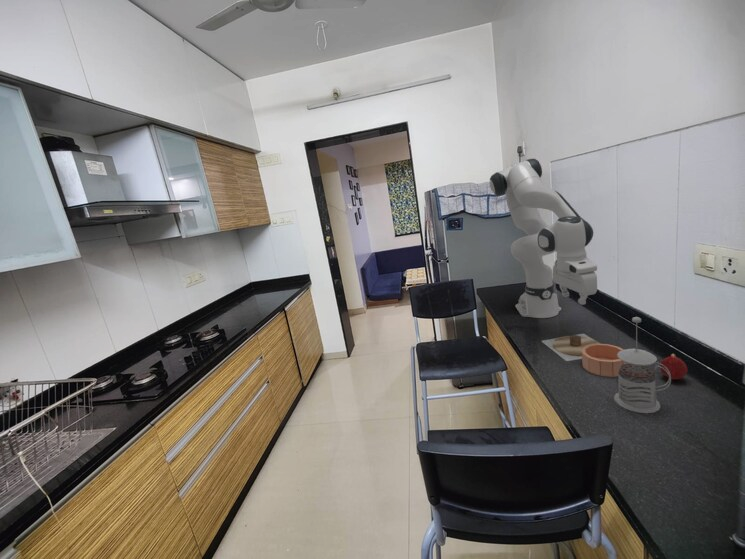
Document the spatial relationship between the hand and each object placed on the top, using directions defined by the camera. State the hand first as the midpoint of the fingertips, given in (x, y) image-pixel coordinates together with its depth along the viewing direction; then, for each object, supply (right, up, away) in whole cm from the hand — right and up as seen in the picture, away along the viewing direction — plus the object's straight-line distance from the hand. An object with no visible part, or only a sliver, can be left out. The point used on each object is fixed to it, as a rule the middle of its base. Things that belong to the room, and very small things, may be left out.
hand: (573, 300), depth 113 cm
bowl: (+4, -22, -10) cm, 24 cm away
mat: (+4, -18, +4) cm, 19 cm away
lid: (+4, -18, +4) cm, 19 cm away
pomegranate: (+15, -22, -21) cm, 34 cm away
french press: (+1, -26, -28) cm, 38 cm away
